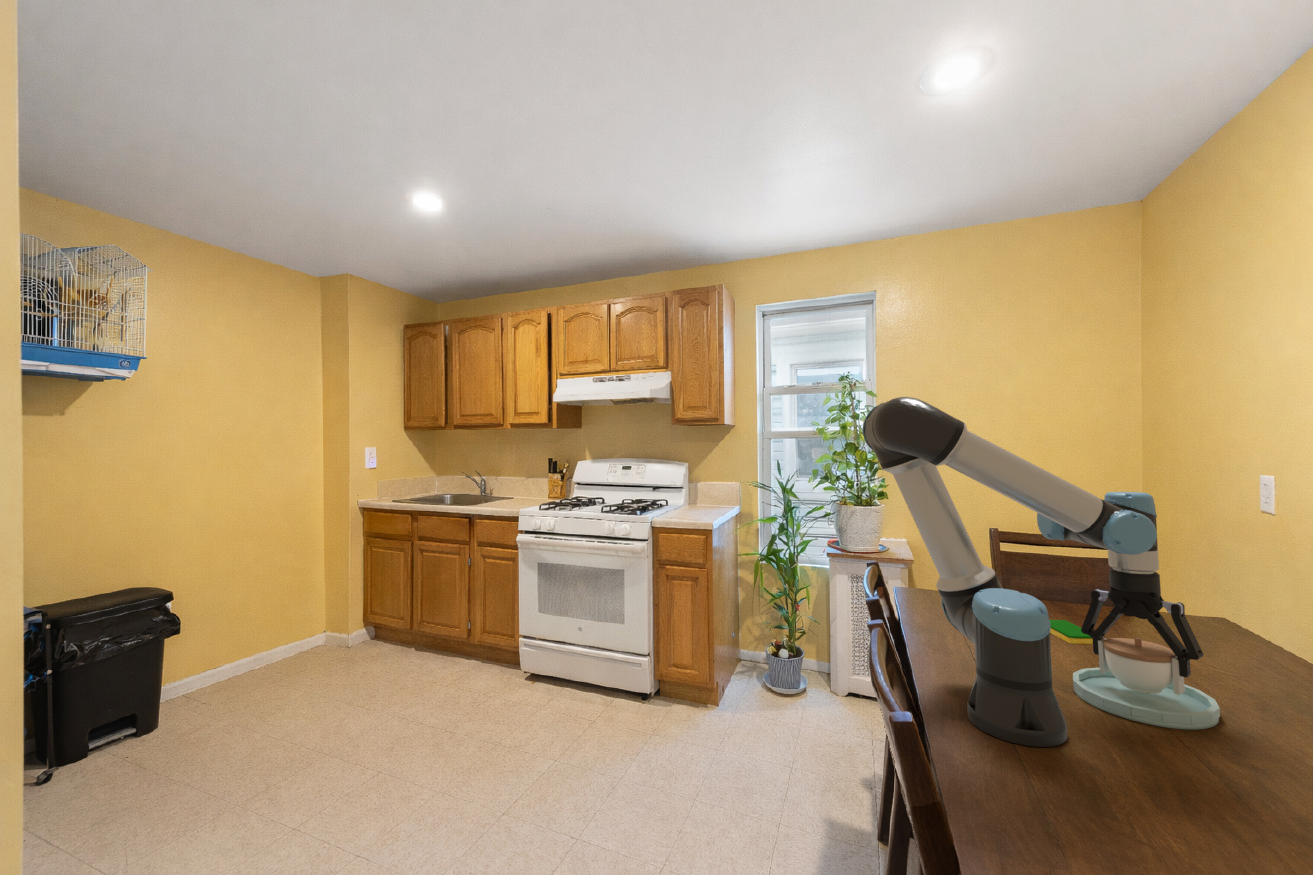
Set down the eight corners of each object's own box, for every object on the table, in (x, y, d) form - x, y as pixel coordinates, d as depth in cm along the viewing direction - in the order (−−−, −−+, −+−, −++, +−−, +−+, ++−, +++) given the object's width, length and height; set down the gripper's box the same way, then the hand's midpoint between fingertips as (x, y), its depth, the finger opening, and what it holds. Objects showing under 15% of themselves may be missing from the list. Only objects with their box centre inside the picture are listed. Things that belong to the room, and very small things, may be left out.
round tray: (1194, 741, 90) (1193, 726, 90) (1053, 694, 108) (1053, 681, 108) (1236, 710, 100) (1235, 696, 100) (1100, 671, 118) (1100, 660, 118)
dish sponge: (1065, 628, 148) (1065, 619, 148) (1100, 645, 135) (1099, 636, 135) (1038, 627, 149) (1038, 619, 149) (1070, 645, 136) (1069, 635, 136)
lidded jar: (1147, 675, 109) (1144, 629, 109) (1195, 699, 98) (1192, 648, 98) (1092, 674, 110) (1089, 629, 110) (1133, 698, 99) (1130, 648, 99)
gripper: (1222, 577, 96) (1231, 699, 96) (1074, 558, 117) (1080, 658, 116) (1208, 583, 93) (1216, 710, 92) (1057, 562, 113) (1063, 666, 112)
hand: (1140, 681), depth 104 cm, fingers closed on lidded jar, 11 cm apart
